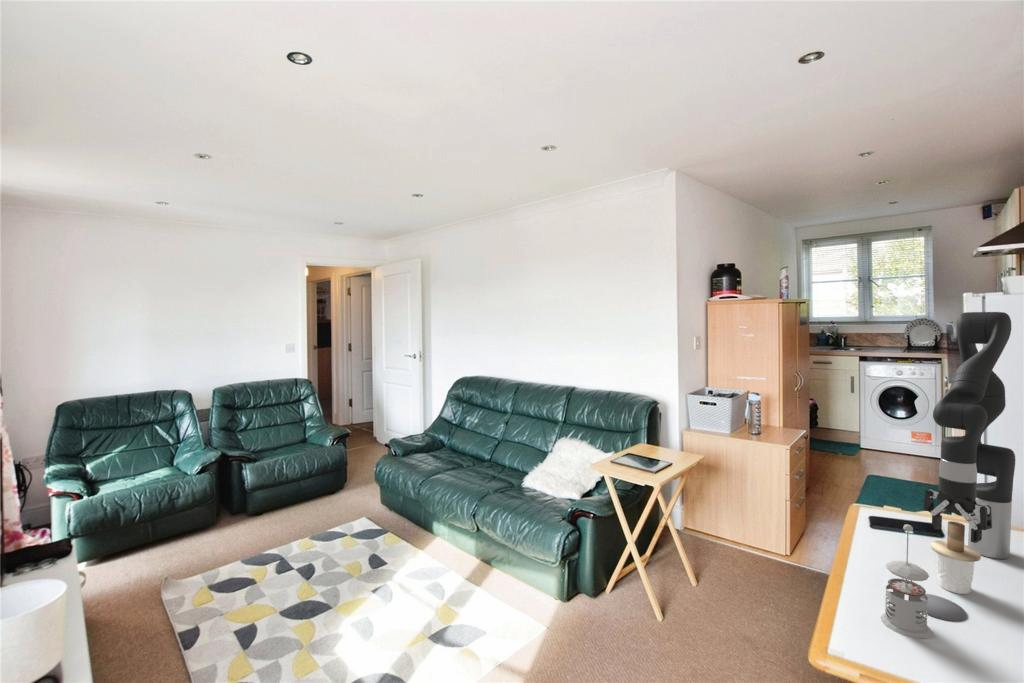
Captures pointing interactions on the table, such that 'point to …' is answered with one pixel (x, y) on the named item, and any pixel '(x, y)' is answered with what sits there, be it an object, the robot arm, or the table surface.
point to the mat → (944, 608)
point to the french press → (906, 612)
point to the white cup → (954, 574)
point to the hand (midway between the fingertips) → (955, 535)
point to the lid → (956, 545)
